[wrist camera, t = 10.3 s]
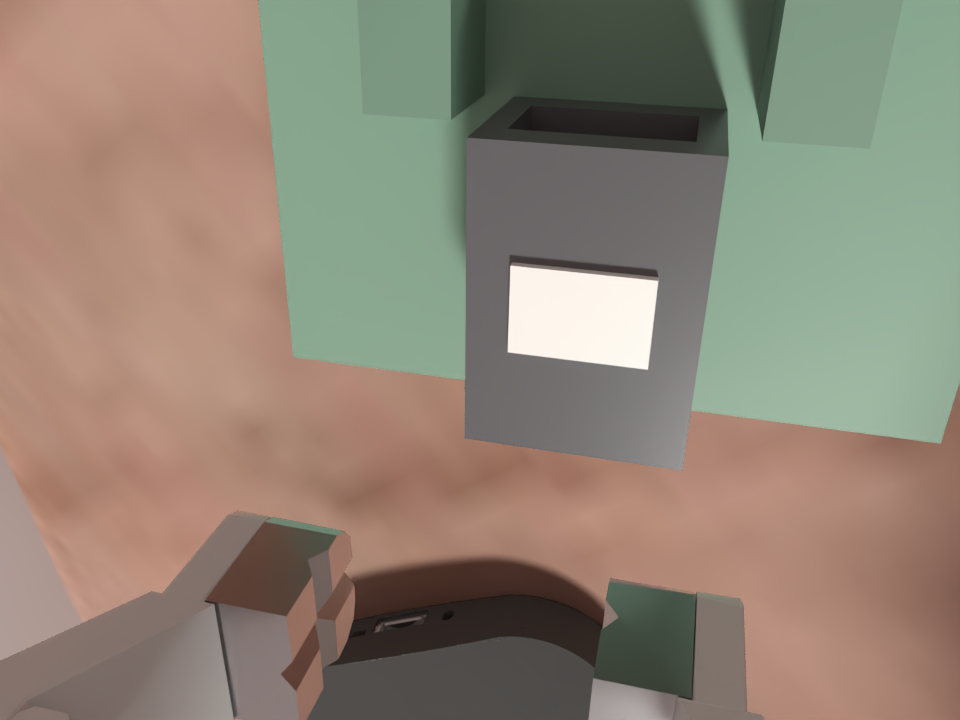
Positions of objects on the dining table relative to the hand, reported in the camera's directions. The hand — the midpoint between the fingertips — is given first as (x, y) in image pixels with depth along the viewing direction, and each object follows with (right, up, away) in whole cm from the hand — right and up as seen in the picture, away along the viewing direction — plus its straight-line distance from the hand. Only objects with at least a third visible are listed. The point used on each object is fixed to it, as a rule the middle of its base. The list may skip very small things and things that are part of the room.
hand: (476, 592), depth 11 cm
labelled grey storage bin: (+3, +6, +11) cm, 13 cm away
